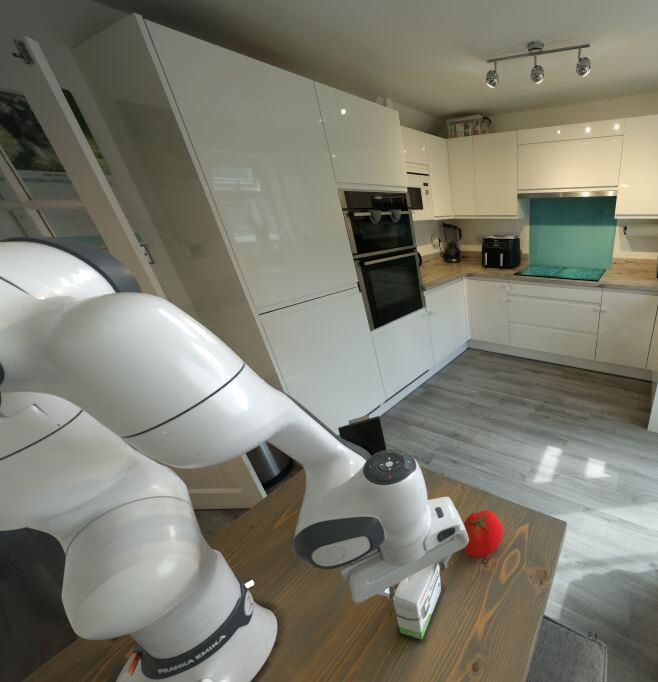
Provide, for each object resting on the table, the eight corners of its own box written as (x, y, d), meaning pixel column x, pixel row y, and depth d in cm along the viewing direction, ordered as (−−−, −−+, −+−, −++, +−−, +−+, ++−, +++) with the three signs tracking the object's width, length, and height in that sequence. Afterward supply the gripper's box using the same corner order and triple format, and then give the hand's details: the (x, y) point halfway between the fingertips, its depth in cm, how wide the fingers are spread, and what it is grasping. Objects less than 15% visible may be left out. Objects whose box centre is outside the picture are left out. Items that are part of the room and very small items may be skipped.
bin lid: (379, 417, 80) (376, 406, 84) (338, 429, 76) (337, 417, 80) (387, 456, 86) (384, 444, 90) (349, 469, 82) (348, 456, 86)
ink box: (422, 641, 58) (417, 607, 53) (398, 632, 59) (391, 598, 54) (442, 590, 66) (439, 556, 60) (420, 583, 66) (415, 549, 61)
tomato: (508, 532, 77) (508, 509, 73) (490, 574, 68) (489, 550, 65) (474, 519, 80) (473, 496, 77) (454, 558, 71) (451, 534, 68)
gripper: (337, 585, 45) (359, 632, 51) (469, 520, 54) (474, 566, 60) (336, 546, 50) (356, 593, 56) (456, 492, 59) (462, 538, 65)
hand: (418, 579), depth 58 cm, fingers open, 8 cm apart
